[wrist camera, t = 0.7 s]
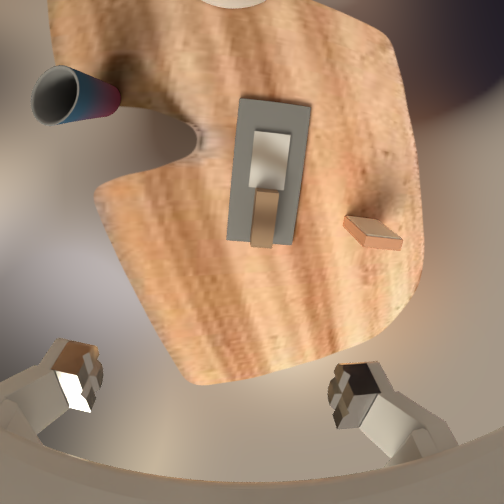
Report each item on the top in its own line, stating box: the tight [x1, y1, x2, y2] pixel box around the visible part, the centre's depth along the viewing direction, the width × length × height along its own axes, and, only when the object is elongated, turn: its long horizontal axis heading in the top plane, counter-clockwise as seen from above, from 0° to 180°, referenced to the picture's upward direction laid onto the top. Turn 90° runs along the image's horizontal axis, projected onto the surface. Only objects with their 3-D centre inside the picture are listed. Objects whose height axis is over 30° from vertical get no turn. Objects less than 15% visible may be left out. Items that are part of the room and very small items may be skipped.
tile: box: [343, 215, 403, 251], centre depth 43 cm, size 2×6×9 cm, turn 84°
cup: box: [31, 65, 121, 126], centre depth 31 cm, size 7×7×15 cm
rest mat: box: [227, 98, 311, 245], centre depth 43 cm, size 21×10×1 cm, turn 174°
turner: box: [249, 131, 291, 248], centre depth 42 cm, size 16×5×3 cm, turn 174°
